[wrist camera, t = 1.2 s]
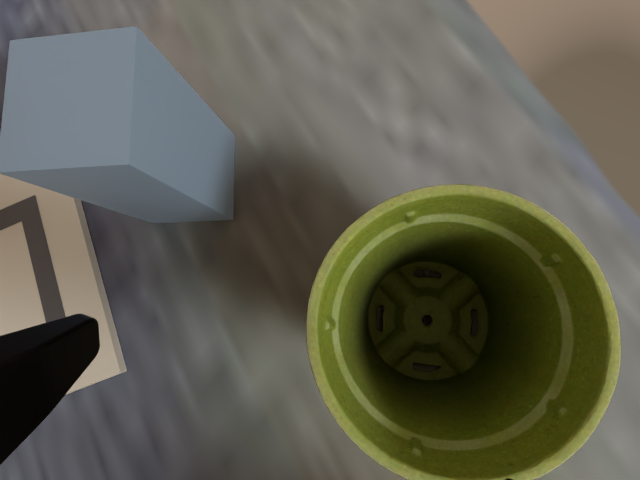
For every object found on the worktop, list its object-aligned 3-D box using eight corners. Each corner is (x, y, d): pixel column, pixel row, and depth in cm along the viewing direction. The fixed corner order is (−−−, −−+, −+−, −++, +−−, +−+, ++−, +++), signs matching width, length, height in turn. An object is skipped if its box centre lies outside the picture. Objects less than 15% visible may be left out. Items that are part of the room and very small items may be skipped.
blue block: (233, 220, 24) (129, 164, 14) (151, 223, 24) (-4, 172, 15) (235, 135, 24) (136, 26, 15) (155, 141, 25) (9, 40, 15)
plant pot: (335, 228, 23) (308, 186, 14) (518, 226, 21) (609, 179, 13) (334, 408, 21) (302, 480, 13) (528, 418, 20) (636, 506, 12)
